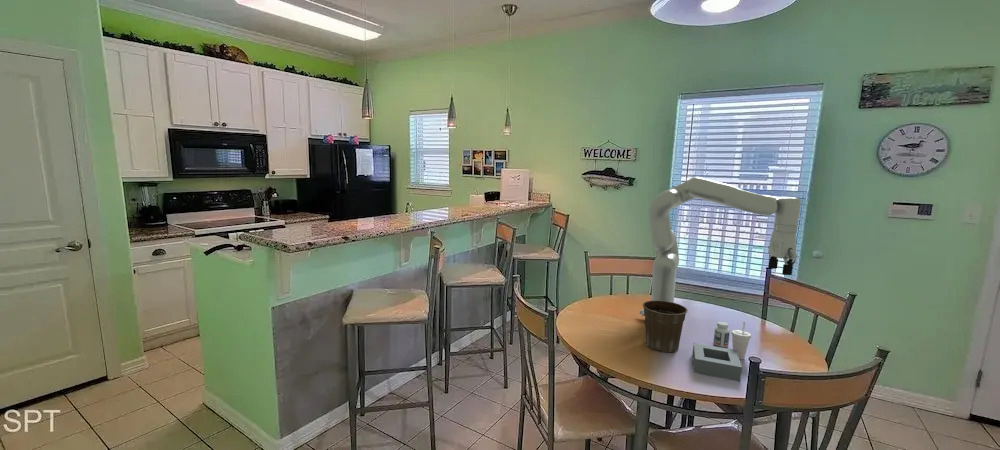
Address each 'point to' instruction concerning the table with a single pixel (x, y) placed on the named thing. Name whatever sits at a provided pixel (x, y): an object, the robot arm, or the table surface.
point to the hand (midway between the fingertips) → (779, 271)
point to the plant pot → (663, 324)
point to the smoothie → (740, 341)
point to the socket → (716, 362)
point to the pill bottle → (721, 334)
